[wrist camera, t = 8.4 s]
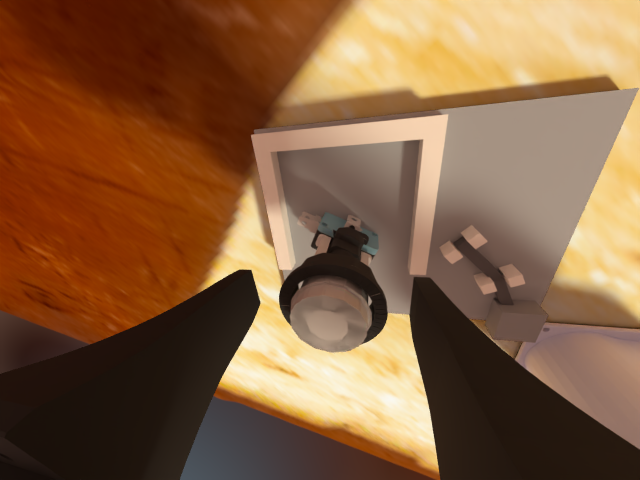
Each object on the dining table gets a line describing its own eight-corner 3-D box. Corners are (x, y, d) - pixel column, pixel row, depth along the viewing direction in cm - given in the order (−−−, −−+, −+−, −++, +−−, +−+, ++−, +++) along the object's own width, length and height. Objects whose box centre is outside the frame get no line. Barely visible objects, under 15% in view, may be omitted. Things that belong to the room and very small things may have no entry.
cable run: (493, 214, 16) (504, 223, 15) (545, 321, 19) (558, 337, 18) (435, 241, 18) (440, 251, 16) (491, 335, 21) (499, 350, 20)
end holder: (442, 114, 14) (448, 114, 13) (422, 266, 19) (425, 275, 18) (258, 133, 17) (250, 134, 16) (283, 262, 22) (279, 269, 21)
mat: (620, 90, 13) (639, 87, 12) (525, 314, 20) (532, 323, 19) (259, 129, 18) (253, 129, 17) (292, 299, 25) (289, 305, 24)
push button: (294, 237, 20) (236, 326, 12) (314, 182, 18) (259, 244, 9) (362, 267, 20) (356, 378, 12) (393, 217, 18) (414, 312, 9)
